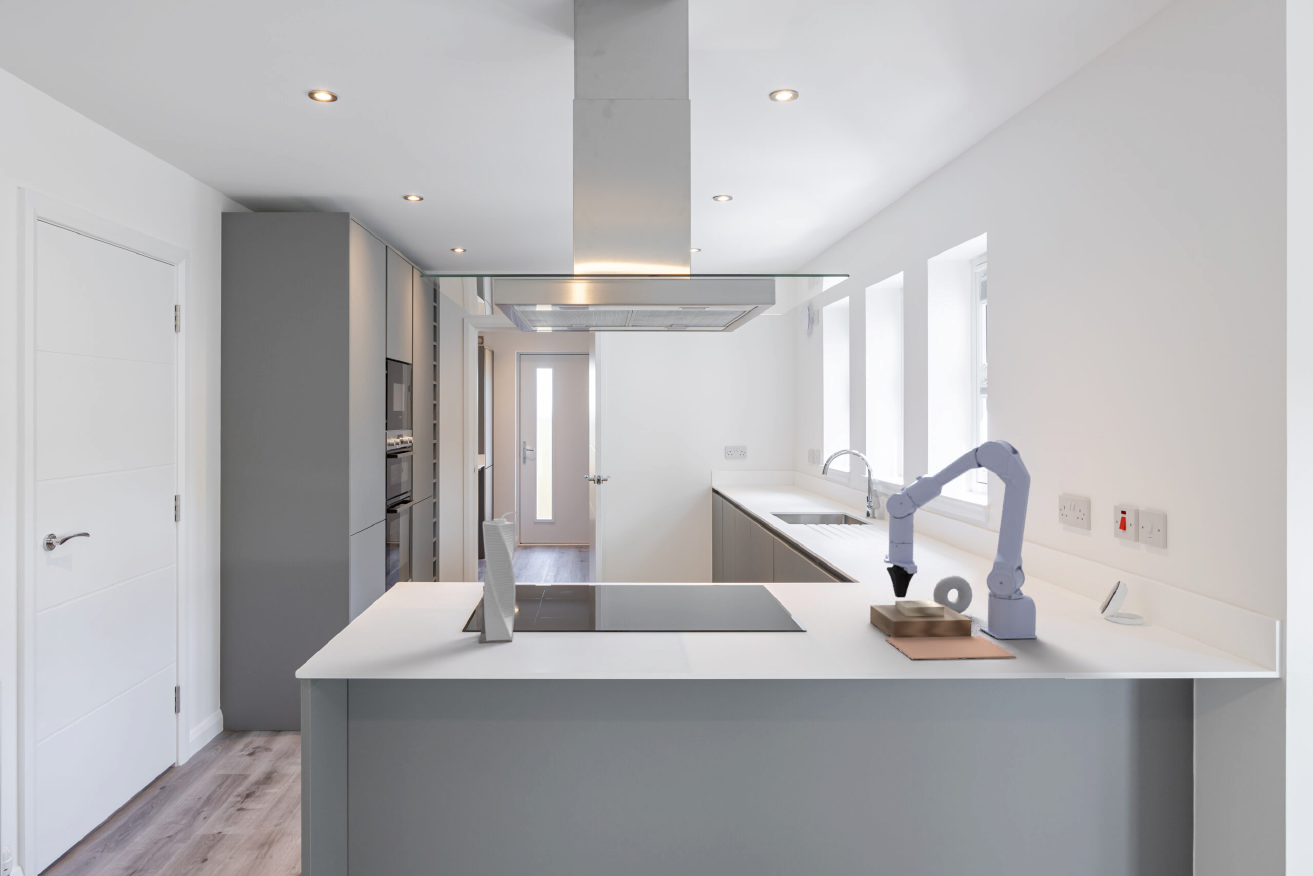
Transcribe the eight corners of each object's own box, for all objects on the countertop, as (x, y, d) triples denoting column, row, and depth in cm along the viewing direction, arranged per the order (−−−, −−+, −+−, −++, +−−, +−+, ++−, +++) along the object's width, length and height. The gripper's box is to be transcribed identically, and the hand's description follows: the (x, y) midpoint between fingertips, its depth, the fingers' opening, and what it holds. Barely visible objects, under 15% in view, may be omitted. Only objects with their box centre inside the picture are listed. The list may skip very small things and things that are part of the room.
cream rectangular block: (932, 608, 178) (932, 600, 178) (943, 615, 172) (944, 606, 172) (895, 609, 177) (895, 600, 177) (905, 616, 171) (905, 607, 171)
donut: (937, 617, 185) (938, 577, 185) (930, 613, 189) (930, 574, 188) (974, 616, 187) (975, 576, 186) (967, 612, 190) (967, 573, 190)
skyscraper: (519, 632, 170) (519, 509, 170) (518, 643, 162) (518, 513, 162) (480, 633, 169) (480, 509, 168) (478, 644, 161) (478, 514, 160)
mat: (980, 637, 168) (980, 636, 168) (1015, 657, 154) (1015, 656, 154) (885, 639, 166) (885, 637, 166) (911, 660, 152) (911, 658, 152)
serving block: (942, 620, 182) (942, 604, 182) (971, 637, 168) (971, 619, 168) (870, 621, 181) (870, 605, 181) (893, 639, 167) (893, 621, 167)
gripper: (874, 537, 192) (873, 590, 192) (897, 547, 177) (896, 604, 178) (901, 537, 192) (900, 589, 193) (926, 546, 178) (925, 604, 178)
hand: (900, 596), depth 185 cm, fingers closed
